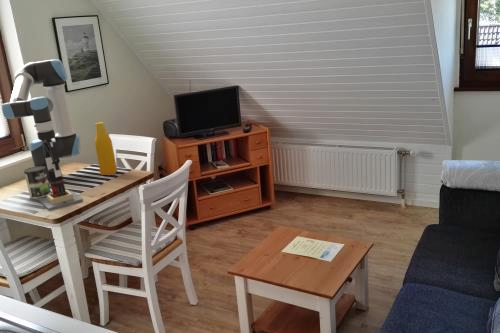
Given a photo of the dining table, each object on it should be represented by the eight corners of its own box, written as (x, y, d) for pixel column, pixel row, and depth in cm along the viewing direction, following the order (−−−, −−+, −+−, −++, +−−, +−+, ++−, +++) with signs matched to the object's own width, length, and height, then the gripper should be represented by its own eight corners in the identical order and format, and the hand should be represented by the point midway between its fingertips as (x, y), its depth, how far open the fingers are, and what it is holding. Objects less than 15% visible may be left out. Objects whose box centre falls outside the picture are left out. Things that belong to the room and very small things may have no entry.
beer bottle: (117, 169, 296) (107, 120, 288) (117, 174, 288) (108, 123, 279) (100, 172, 294) (90, 122, 286) (100, 177, 286) (90, 125, 277)
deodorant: (69, 198, 251) (62, 168, 247) (57, 202, 247) (51, 172, 243) (63, 196, 255) (56, 167, 251) (51, 200, 251) (45, 170, 247)
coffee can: (55, 192, 266) (49, 166, 262) (38, 199, 258) (32, 172, 254) (42, 190, 272) (36, 165, 268) (25, 197, 264) (19, 171, 260)
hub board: (39, 201, 255) (38, 194, 254) (72, 192, 263) (70, 186, 262) (48, 210, 240) (47, 203, 239) (82, 201, 248) (81, 193, 247)
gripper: (30, 128, 249) (40, 169, 256) (43, 136, 229) (53, 181, 236) (46, 125, 253) (56, 166, 260) (60, 132, 233) (70, 176, 240)
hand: (55, 173), depth 248 cm, fingers open, 13 cm apart
